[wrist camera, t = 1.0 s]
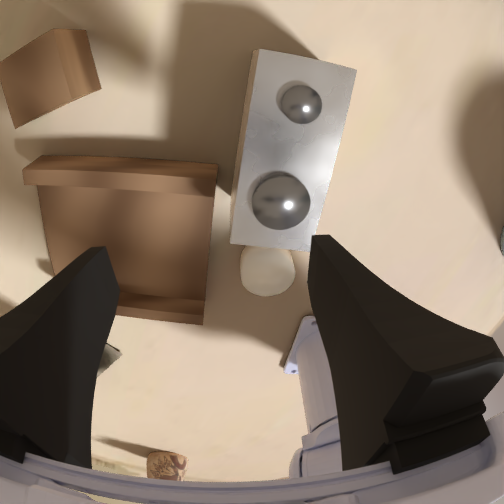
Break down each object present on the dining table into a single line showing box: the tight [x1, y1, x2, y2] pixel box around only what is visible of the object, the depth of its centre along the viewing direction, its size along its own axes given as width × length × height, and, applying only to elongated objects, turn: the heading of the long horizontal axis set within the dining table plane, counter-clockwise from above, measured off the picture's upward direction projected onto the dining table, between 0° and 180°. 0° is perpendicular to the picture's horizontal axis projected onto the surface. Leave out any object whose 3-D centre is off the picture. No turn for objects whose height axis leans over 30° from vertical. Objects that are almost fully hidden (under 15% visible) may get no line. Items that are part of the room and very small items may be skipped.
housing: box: [230, 49, 357, 252], centre depth 15 cm, size 4×9×6 cm, turn 171°
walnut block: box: [0, 29, 102, 129], centre depth 13 cm, size 4×4×4 cm
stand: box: [22, 156, 218, 325], centre depth 20 cm, size 12×11×2 cm
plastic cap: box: [240, 245, 295, 296], centre depth 22 cm, size 4×4×2 cm
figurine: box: [147, 451, 189, 481], centre depth 41 cm, size 7×7×12 cm
